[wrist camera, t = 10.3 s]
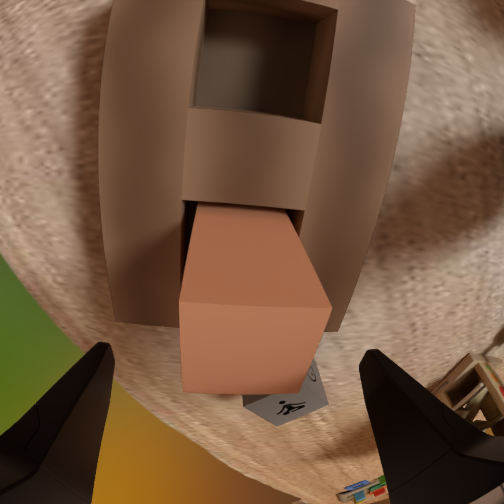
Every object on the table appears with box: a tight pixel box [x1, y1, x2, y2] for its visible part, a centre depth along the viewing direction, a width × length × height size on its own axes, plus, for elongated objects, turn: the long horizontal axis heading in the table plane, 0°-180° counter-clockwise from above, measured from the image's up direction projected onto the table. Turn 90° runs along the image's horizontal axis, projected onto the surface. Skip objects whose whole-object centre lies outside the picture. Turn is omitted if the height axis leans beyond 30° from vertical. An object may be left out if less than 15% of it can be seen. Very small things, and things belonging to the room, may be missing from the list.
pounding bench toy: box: [431, 353, 504, 437], centre depth 26 cm, size 23×14×18 cm, turn 155°
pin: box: [179, 201, 332, 395], centre depth 14 cm, size 4×4×10 cm
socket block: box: [98, 0, 416, 332], centre depth 15 cm, size 14×20×4 cm
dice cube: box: [242, 359, 329, 426], centre depth 23 cm, size 5×5×5 cm
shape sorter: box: [337, 475, 387, 504], centre depth 63 cm, size 34×19×5 cm, turn 18°
